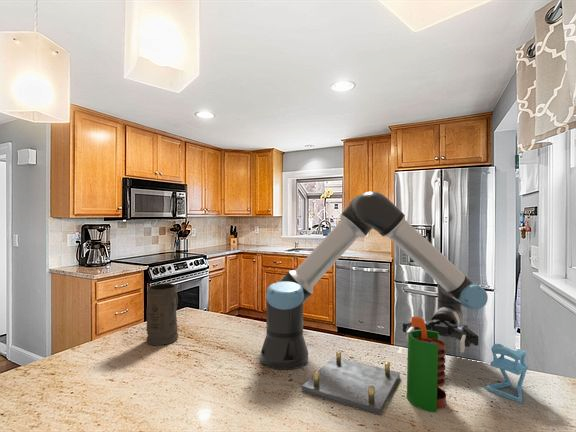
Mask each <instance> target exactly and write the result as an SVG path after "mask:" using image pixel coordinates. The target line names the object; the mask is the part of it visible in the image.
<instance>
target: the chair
mask: <svg viewBox="0 0 576 432" xmlns="http://www.w3.org/2000/svg"><path fill="white" fill-rule="evenodd" d="M491 352H492V356H493V360H492V361H491V362H490V363H489V364H490V367H492V368H495V369H499V370H500V372H501V374H502V376H503V377H504V381H503V382H498V383H492V384H489V385H486V390H487V391H488V392H490V393H493V394H496V395H498V396H501V397H504V398H507V399H509V400H512V401H514V402H517V403H523V392H522V391H523V383H524V380H525V377H526V373H527V370H528V369H529V365H528V364H526V363H525V362H526V361H525V360H526V359H525V358H526V354H527V351H525V350H523V349H517V350H515V349H511V348H509V347H507V346H504V345H503V344H501V343H494V344H493V345H492V346H491ZM497 355H500V356H499V357H498V356H497ZM505 356H506V357H508V358H506V357H505ZM509 358H510V359H509ZM511 359H513V360H511ZM519 360H520V361H519ZM506 371H507V372H509V373H511V374H514V375H517V376H519V378H518V381H517V384H516V394H517V396H515V395H513V394H510V393H508V392H506V391H502V390H500V389H502V388H503V389H504V388H507V387H510V386H512V382H511V379H510V378H509V376H508V374H507V372H506Z"/></svg>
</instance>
